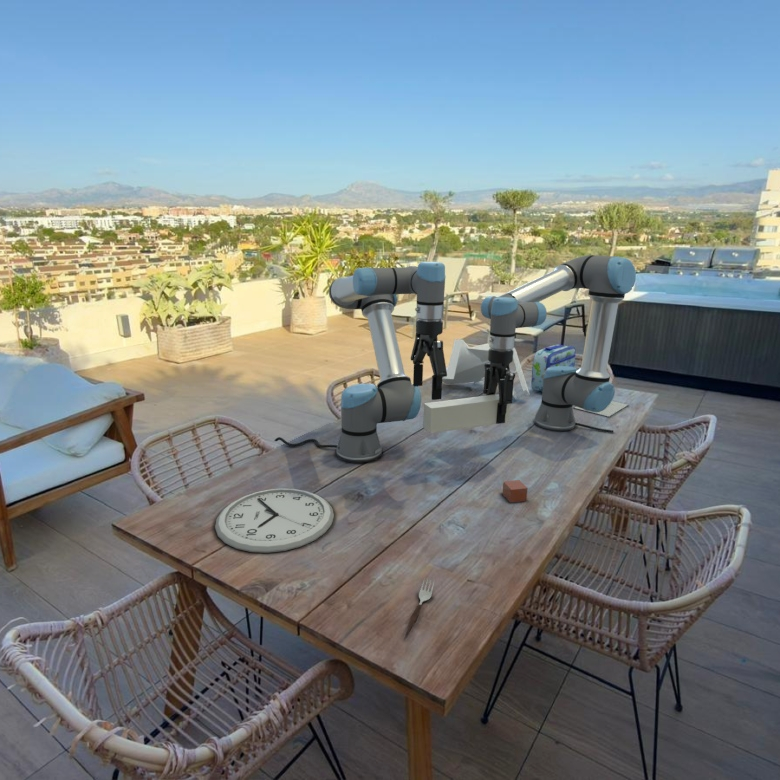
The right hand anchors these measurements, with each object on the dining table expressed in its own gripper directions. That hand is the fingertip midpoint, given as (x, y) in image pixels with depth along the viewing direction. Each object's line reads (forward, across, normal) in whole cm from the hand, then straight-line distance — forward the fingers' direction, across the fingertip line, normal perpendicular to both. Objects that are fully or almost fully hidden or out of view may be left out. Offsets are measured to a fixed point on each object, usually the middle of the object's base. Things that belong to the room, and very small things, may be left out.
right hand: (495, 419), depth 167 cm
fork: (+15, +55, -52) cm, 77 cm away
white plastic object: (+15, -67, +36) cm, 77 cm away
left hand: (-13, +2, -26) cm, 29 cm away
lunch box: (+15, -60, +72) cm, 94 cm away
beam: (0, 0, -10) cm, 10 cm away
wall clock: (+14, +10, -72) cm, 75 cm away
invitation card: (+15, -31, +75) cm, 83 cm away
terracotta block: (+15, +22, -7) cm, 28 cm away
